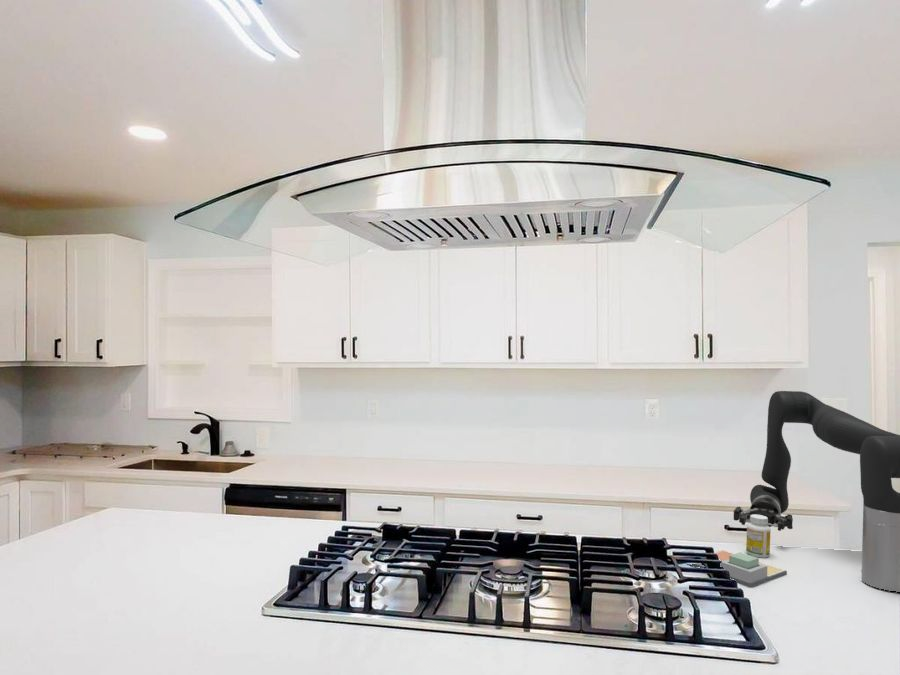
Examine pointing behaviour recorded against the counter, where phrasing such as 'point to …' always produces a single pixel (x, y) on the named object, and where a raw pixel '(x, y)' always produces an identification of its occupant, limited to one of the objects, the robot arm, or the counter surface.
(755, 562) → the button
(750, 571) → the grey tray
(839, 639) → the counter surface
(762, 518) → the supplement bottle
